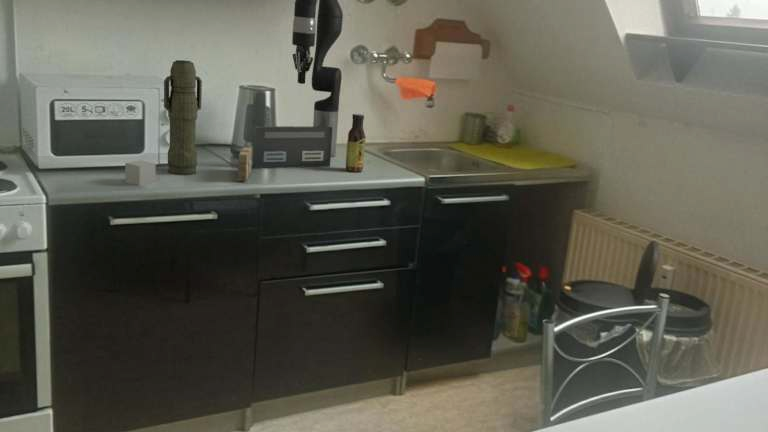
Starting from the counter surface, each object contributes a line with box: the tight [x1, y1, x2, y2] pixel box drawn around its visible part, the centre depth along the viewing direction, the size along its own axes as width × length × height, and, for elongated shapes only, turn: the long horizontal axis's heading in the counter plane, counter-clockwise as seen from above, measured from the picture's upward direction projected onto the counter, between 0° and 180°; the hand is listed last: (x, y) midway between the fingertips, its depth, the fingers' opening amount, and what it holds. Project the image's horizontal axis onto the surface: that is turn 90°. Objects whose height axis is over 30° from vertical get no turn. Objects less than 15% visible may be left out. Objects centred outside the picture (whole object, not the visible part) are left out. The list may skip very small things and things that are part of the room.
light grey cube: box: [124, 159, 157, 187], centre depth 218 cm, size 6×6×6 cm
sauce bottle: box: [345, 113, 366, 173], centre depth 257 cm, size 7×6×20 cm
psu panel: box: [252, 125, 332, 169], centre depth 255 cm, size 3×28×14 cm, turn 118°
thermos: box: [163, 59, 203, 176], centre depth 231 cm, size 9×12×35 cm
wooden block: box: [237, 145, 253, 182], centre depth 236 cm, size 17×3×8 cm, turn 4°
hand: (301, 83), depth 251 cm, fingers closed
